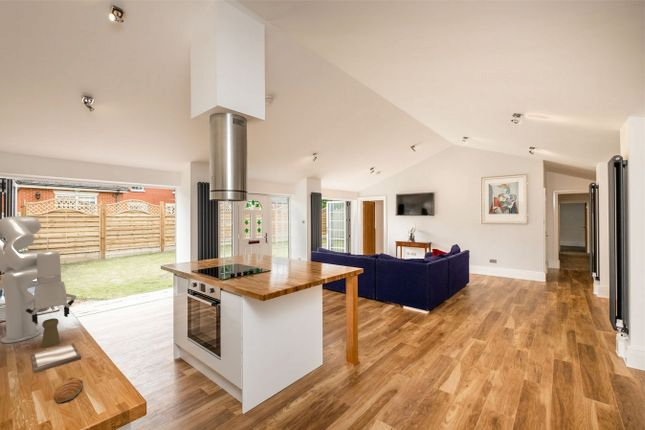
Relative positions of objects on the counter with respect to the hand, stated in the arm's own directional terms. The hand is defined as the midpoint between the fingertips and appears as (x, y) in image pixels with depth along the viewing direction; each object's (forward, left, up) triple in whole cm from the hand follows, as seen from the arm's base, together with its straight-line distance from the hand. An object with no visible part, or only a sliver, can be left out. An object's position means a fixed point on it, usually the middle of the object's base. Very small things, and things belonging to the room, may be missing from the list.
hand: (51, 319), depth 127 cm
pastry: (+46, +23, -11) cm, 53 cm away
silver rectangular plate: (+15, +7, -11) cm, 20 cm away
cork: (-1, -1, -11) cm, 11 cm away
